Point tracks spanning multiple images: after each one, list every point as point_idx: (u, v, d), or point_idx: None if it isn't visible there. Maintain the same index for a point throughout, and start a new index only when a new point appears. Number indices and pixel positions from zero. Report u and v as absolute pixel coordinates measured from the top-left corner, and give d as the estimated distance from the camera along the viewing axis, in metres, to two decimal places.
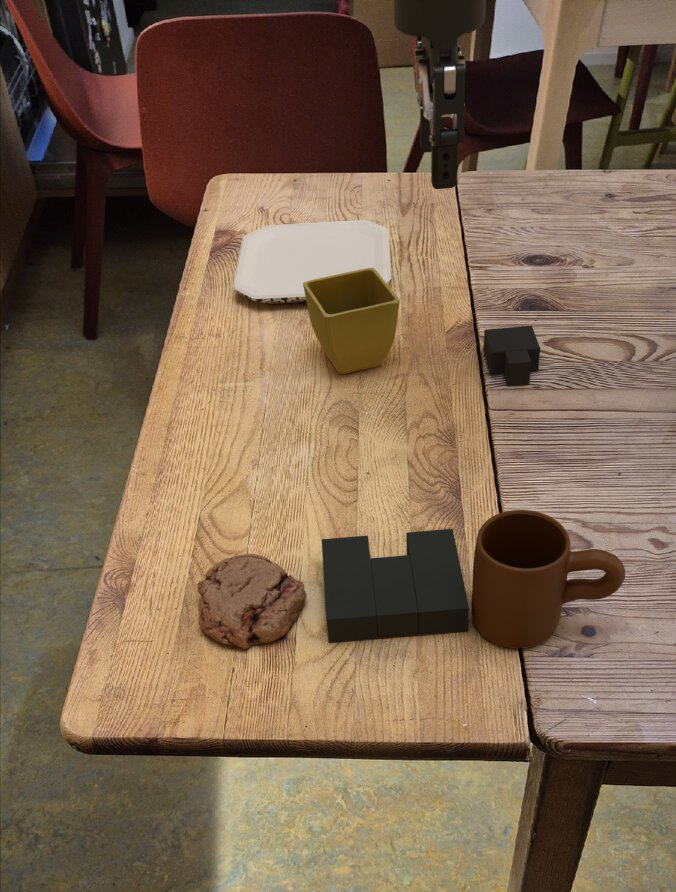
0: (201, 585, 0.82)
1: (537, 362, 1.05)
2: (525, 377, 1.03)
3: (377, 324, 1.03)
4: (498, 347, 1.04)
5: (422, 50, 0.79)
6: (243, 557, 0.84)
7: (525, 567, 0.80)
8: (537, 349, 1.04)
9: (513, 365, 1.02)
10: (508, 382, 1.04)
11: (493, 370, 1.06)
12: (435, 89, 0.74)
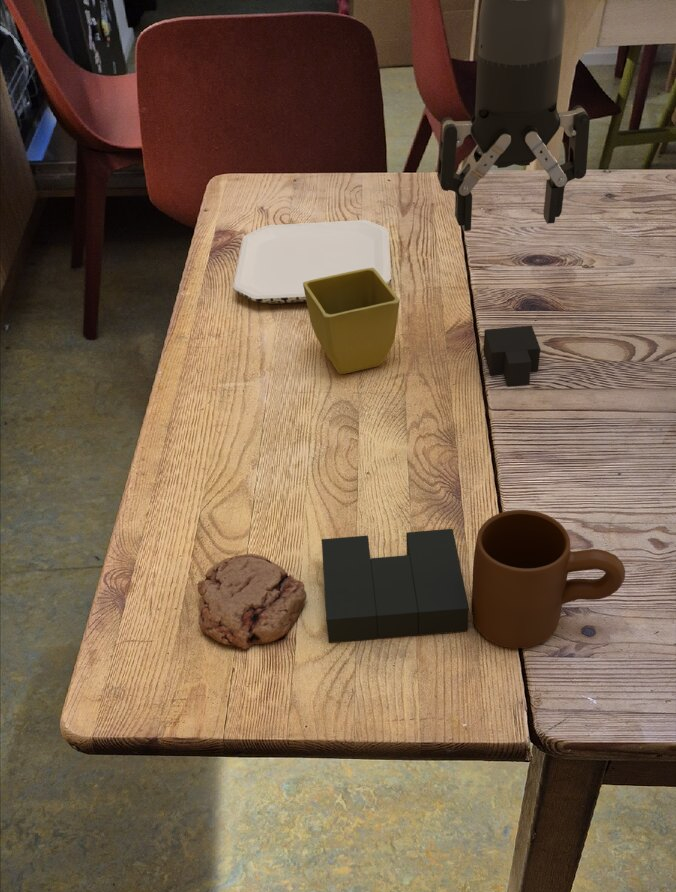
0: (201, 585, 0.82)
1: (537, 362, 1.05)
2: (525, 377, 1.03)
3: (377, 324, 1.03)
4: (498, 347, 1.04)
5: None
6: (243, 557, 0.84)
7: (525, 567, 0.80)
8: (537, 349, 1.04)
9: (513, 365, 1.02)
10: (508, 382, 1.04)
11: (493, 370, 1.06)
12: (441, 134, 0.89)
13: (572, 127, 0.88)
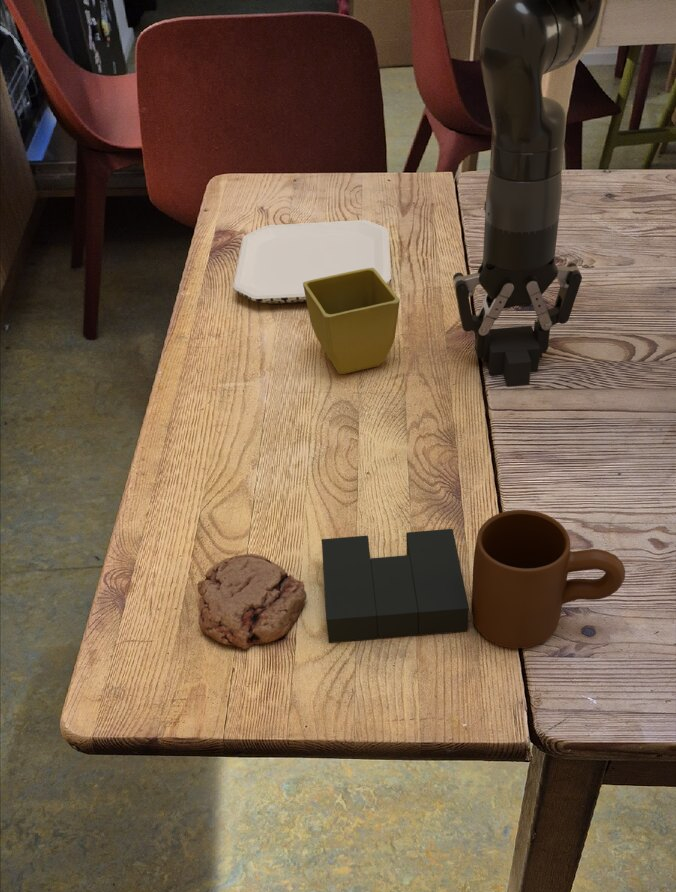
0: (201, 585, 0.82)
1: (537, 362, 1.05)
2: (525, 377, 1.03)
3: (377, 324, 1.03)
4: (498, 347, 1.04)
5: None
6: (243, 557, 0.84)
7: (525, 567, 0.80)
8: (537, 349, 1.04)
9: (513, 365, 1.02)
10: (508, 382, 1.04)
11: (493, 370, 1.06)
12: (455, 287, 1.02)
13: (565, 281, 1.00)
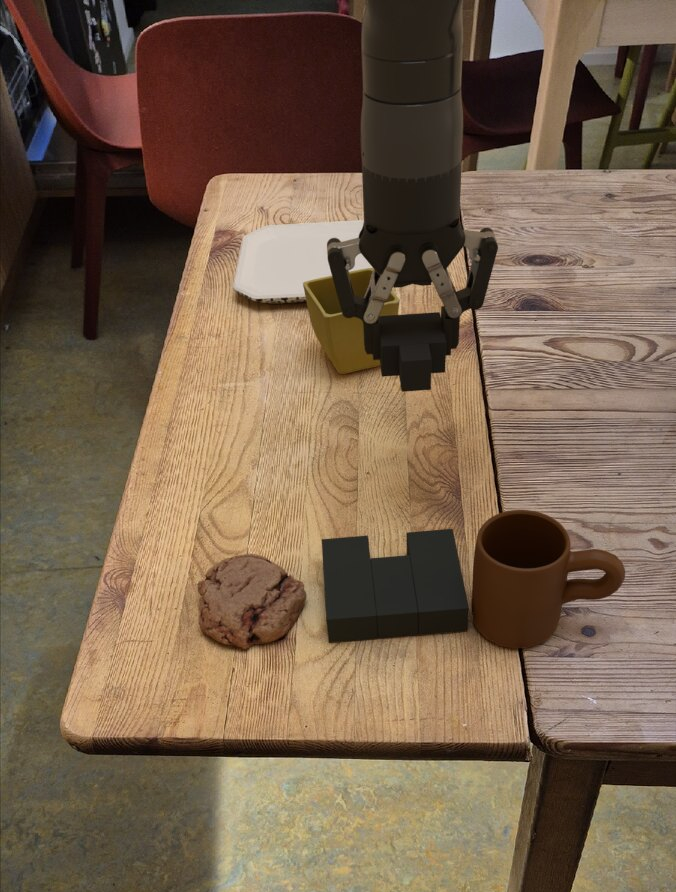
0: (201, 585, 0.82)
1: (443, 360, 0.79)
2: (425, 380, 0.78)
3: None
4: (391, 339, 0.79)
5: None
6: (243, 557, 0.84)
7: (525, 567, 0.80)
8: (442, 343, 0.78)
9: (408, 363, 0.76)
10: (402, 386, 0.78)
11: (385, 370, 0.80)
12: None
13: (477, 251, 0.74)
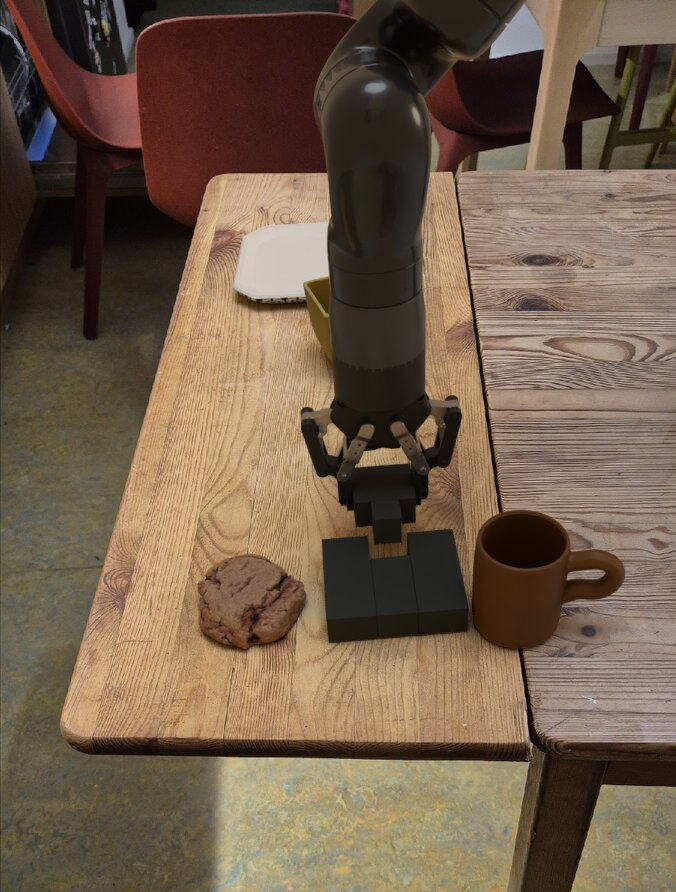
0: (201, 585, 0.82)
1: (413, 513, 0.83)
2: (396, 535, 0.82)
3: None
4: (363, 495, 0.82)
5: None
6: (243, 557, 0.84)
7: (525, 567, 0.80)
8: (412, 498, 0.82)
9: (379, 521, 0.80)
10: (375, 540, 0.82)
11: (358, 522, 0.84)
12: None
13: (443, 418, 0.78)
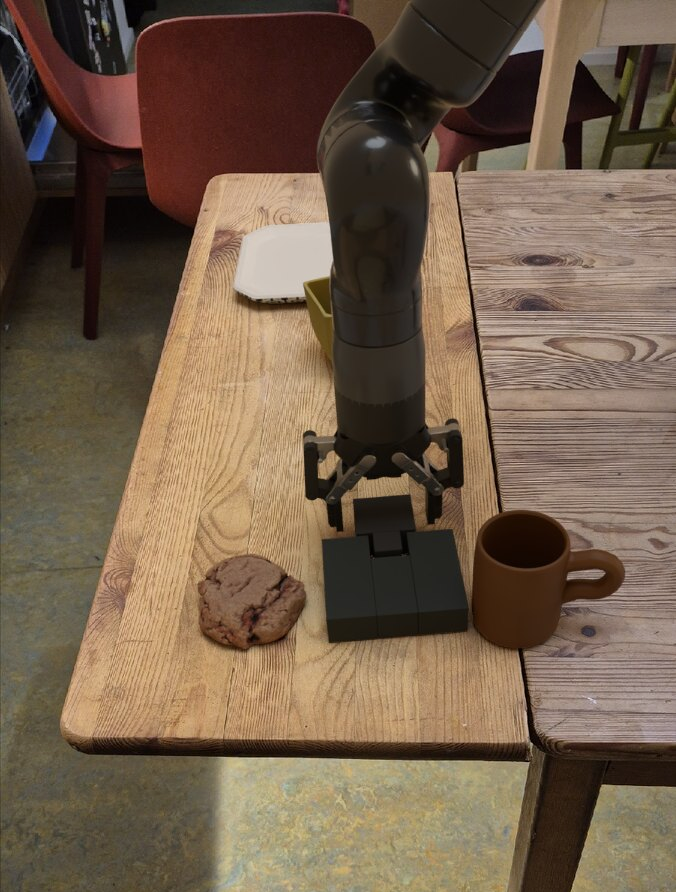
0: (201, 585, 0.82)
1: None
2: None
3: None
4: (365, 526, 0.85)
5: None
6: (243, 557, 0.84)
7: (525, 567, 0.80)
8: (412, 530, 0.85)
9: (380, 553, 0.83)
10: None
11: None
12: None
13: (445, 443, 0.80)
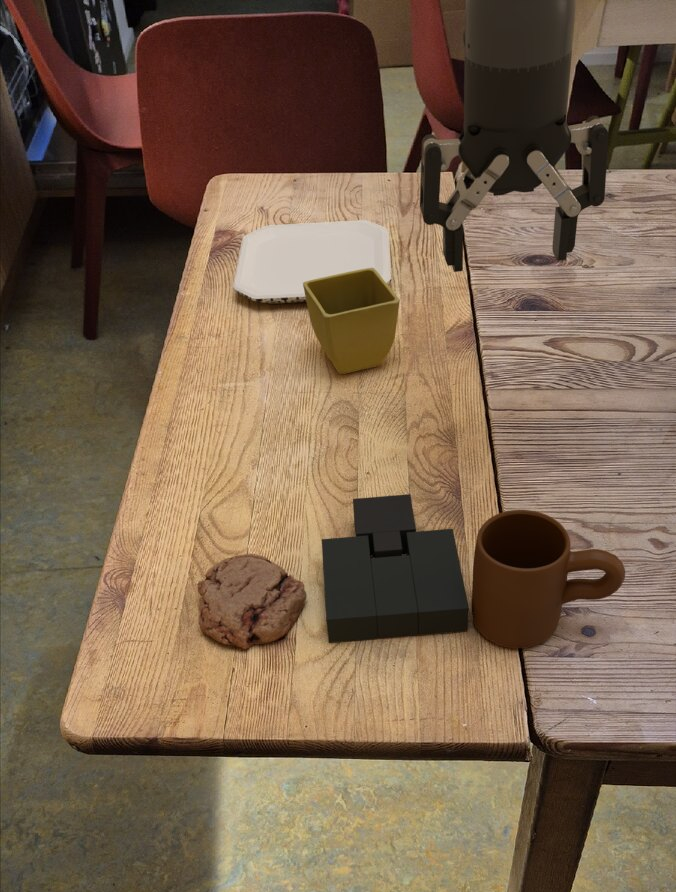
0: (201, 585, 0.82)
1: None
2: None
3: (377, 324, 1.03)
4: (365, 526, 0.85)
5: None
6: (243, 557, 0.84)
7: (525, 567, 0.80)
8: (412, 530, 0.85)
9: (380, 553, 0.83)
10: None
11: None
12: (422, 156, 0.72)
13: (586, 143, 0.70)
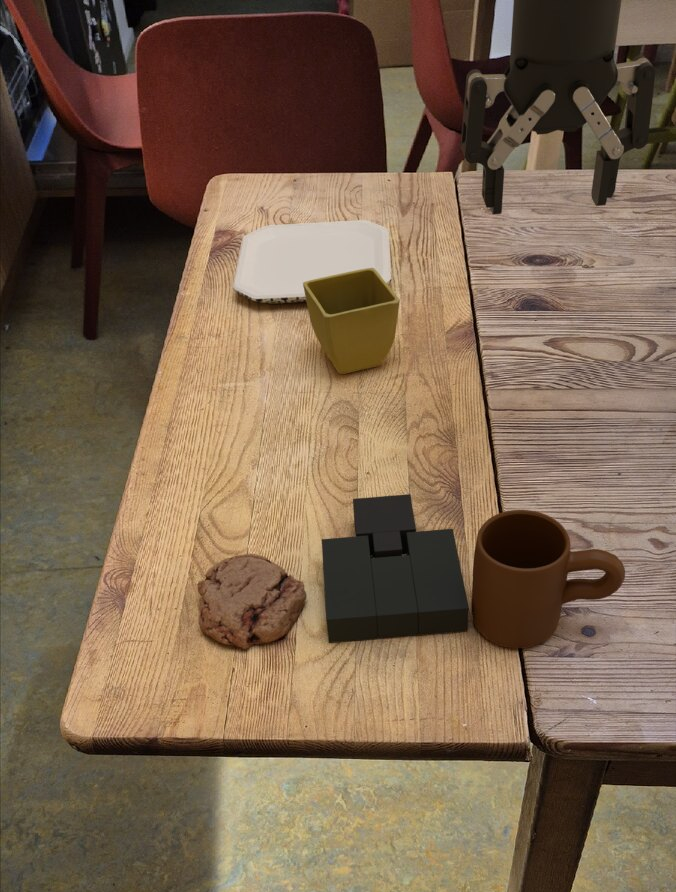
0: (201, 585, 0.82)
1: None
2: None
3: (377, 324, 1.03)
4: (365, 526, 0.85)
5: None
6: (243, 557, 0.84)
7: (525, 567, 0.80)
8: (412, 530, 0.85)
9: (380, 553, 0.83)
10: None
11: None
12: (466, 92, 0.71)
13: (632, 82, 0.69)
